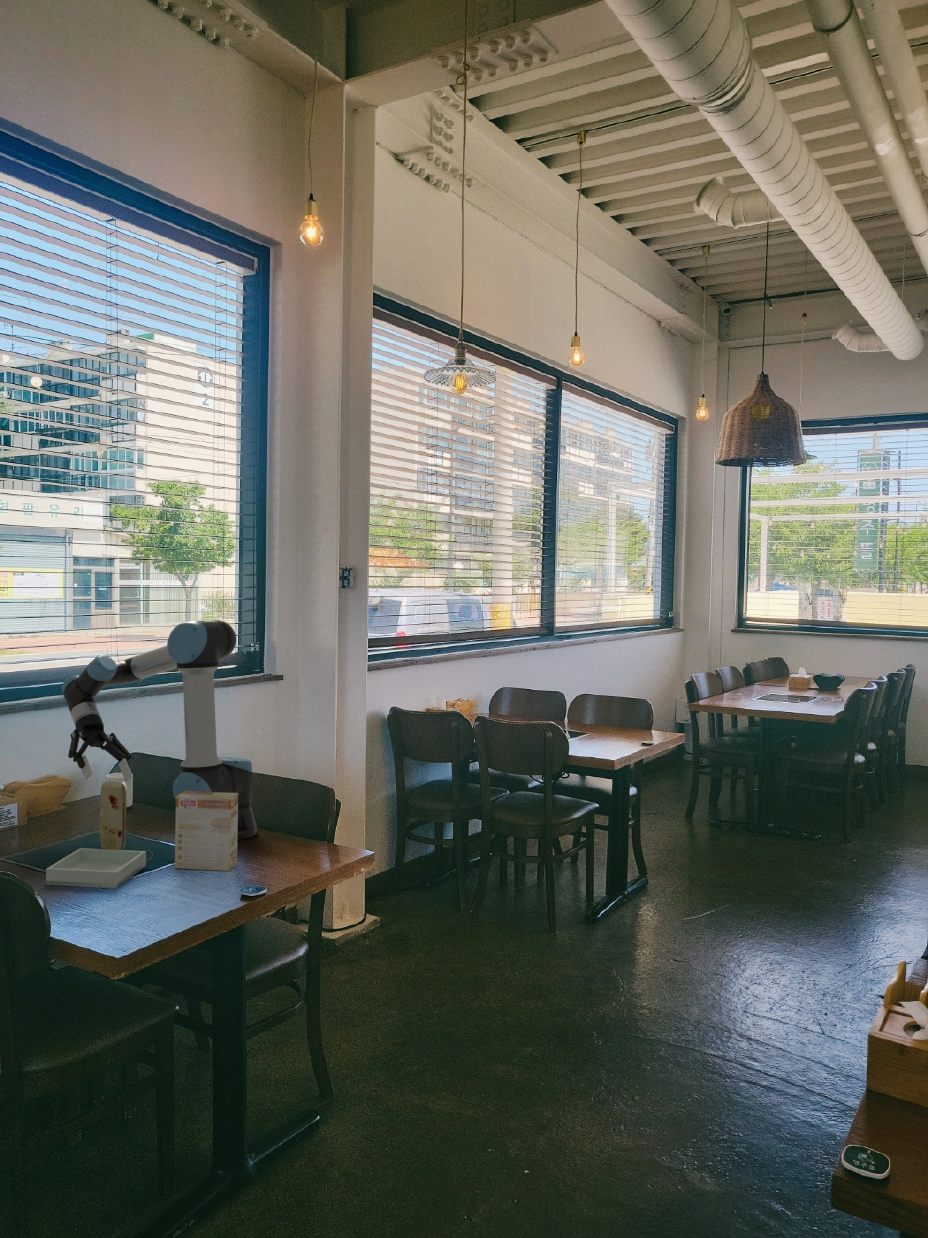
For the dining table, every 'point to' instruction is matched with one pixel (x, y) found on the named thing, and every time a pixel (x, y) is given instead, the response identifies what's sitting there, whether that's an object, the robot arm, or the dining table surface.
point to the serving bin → (96, 868)
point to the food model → (112, 816)
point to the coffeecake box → (206, 830)
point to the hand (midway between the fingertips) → (109, 777)
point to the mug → (128, 785)
